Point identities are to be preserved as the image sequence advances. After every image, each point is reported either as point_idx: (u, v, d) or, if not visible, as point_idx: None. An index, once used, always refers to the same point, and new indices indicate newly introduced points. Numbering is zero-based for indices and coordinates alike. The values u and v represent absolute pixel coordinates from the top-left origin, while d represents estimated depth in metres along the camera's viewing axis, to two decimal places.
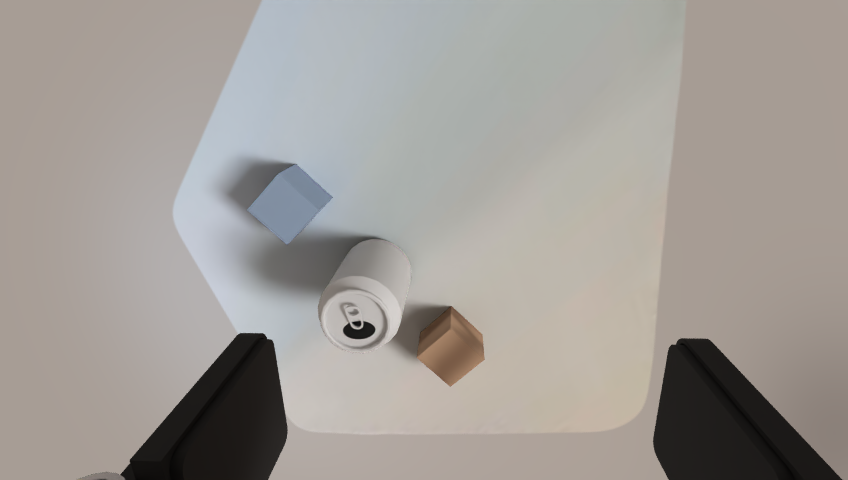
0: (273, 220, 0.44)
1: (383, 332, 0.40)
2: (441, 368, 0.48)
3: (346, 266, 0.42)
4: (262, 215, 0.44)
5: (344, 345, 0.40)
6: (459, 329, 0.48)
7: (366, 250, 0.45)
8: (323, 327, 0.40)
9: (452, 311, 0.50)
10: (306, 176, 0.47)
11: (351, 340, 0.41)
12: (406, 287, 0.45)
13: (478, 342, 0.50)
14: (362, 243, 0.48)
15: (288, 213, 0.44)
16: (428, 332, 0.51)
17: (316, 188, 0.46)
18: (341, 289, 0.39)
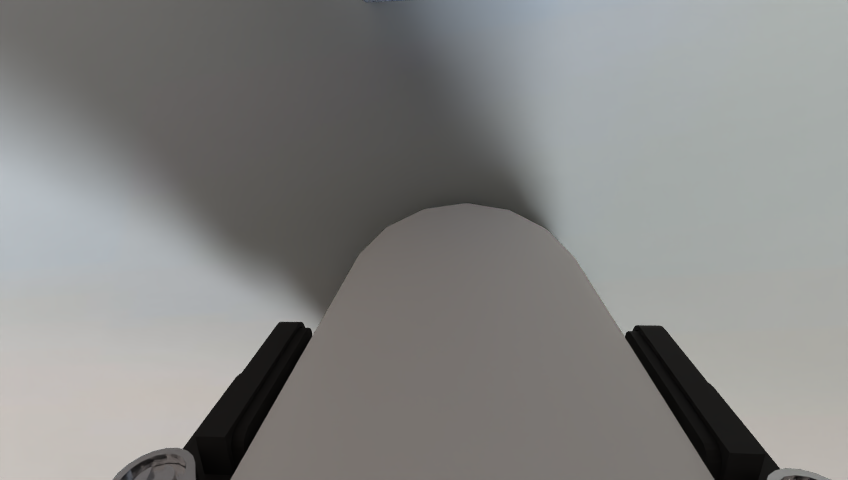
0: None
1: None
2: None
3: (560, 345, 0.06)
4: None
5: None
6: None
7: (579, 282, 0.10)
8: None
9: None
10: None
11: None
12: None
13: None
14: (525, 224, 0.12)
15: None
16: None
17: None
18: None
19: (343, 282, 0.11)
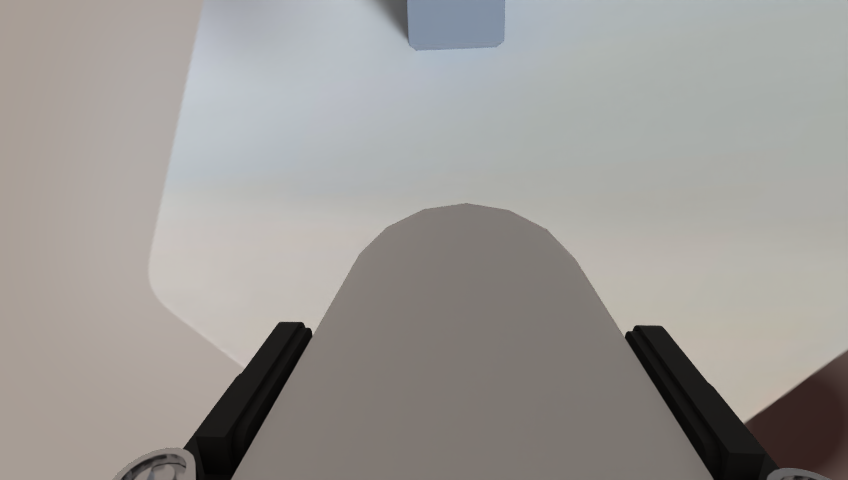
0: None
1: None
2: None
3: (560, 345, 0.06)
4: None
5: None
6: None
7: (578, 282, 0.10)
8: None
9: None
10: None
11: None
12: None
13: None
14: (525, 224, 0.12)
15: (457, 2, 0.23)
16: None
17: None
18: None
19: (343, 282, 0.11)
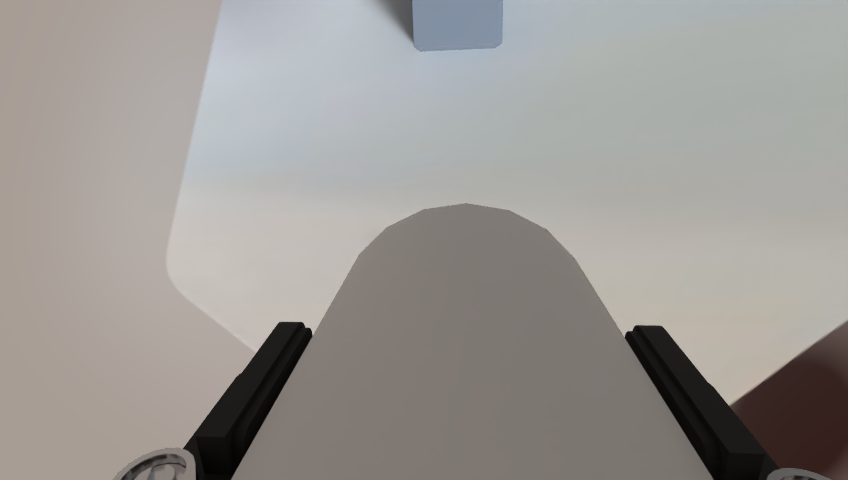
0: None
1: None
2: None
3: (560, 345, 0.06)
4: None
5: None
6: None
7: (578, 282, 0.10)
8: None
9: None
10: None
11: None
12: None
13: None
14: (525, 224, 0.12)
15: (459, 7, 0.25)
16: None
17: None
18: None
19: (343, 282, 0.11)
